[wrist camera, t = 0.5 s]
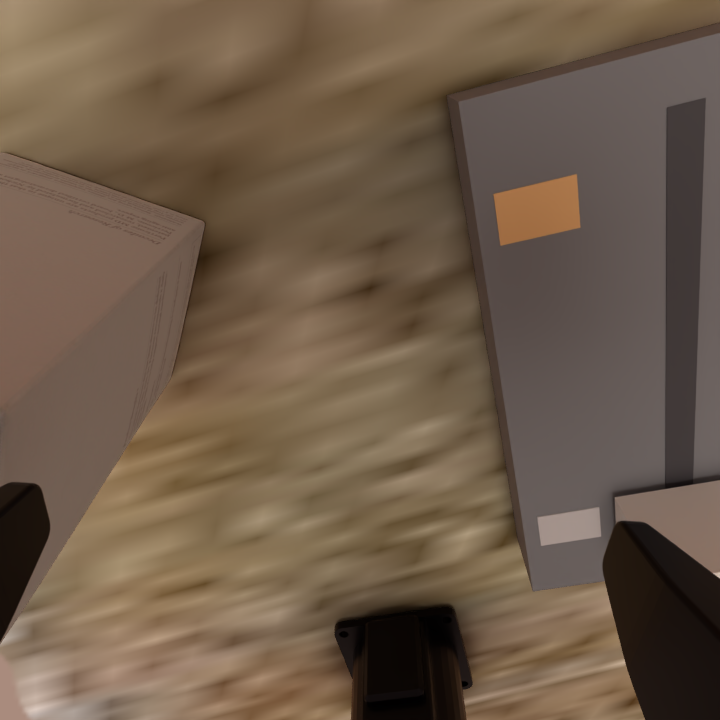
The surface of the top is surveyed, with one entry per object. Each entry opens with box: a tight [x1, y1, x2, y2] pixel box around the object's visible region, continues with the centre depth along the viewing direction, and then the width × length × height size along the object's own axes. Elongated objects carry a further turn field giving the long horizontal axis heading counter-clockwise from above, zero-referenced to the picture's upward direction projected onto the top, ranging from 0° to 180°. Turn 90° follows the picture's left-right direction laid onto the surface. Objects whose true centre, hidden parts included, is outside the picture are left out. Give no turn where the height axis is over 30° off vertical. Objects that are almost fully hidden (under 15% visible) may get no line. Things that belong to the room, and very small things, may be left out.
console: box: [446, 23, 720, 591], centre depth 21 cm, size 20×12×3 cm, turn 14°
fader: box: [615, 480, 720, 578], centre depth 20 cm, size 3×5×4 cm, turn 104°
